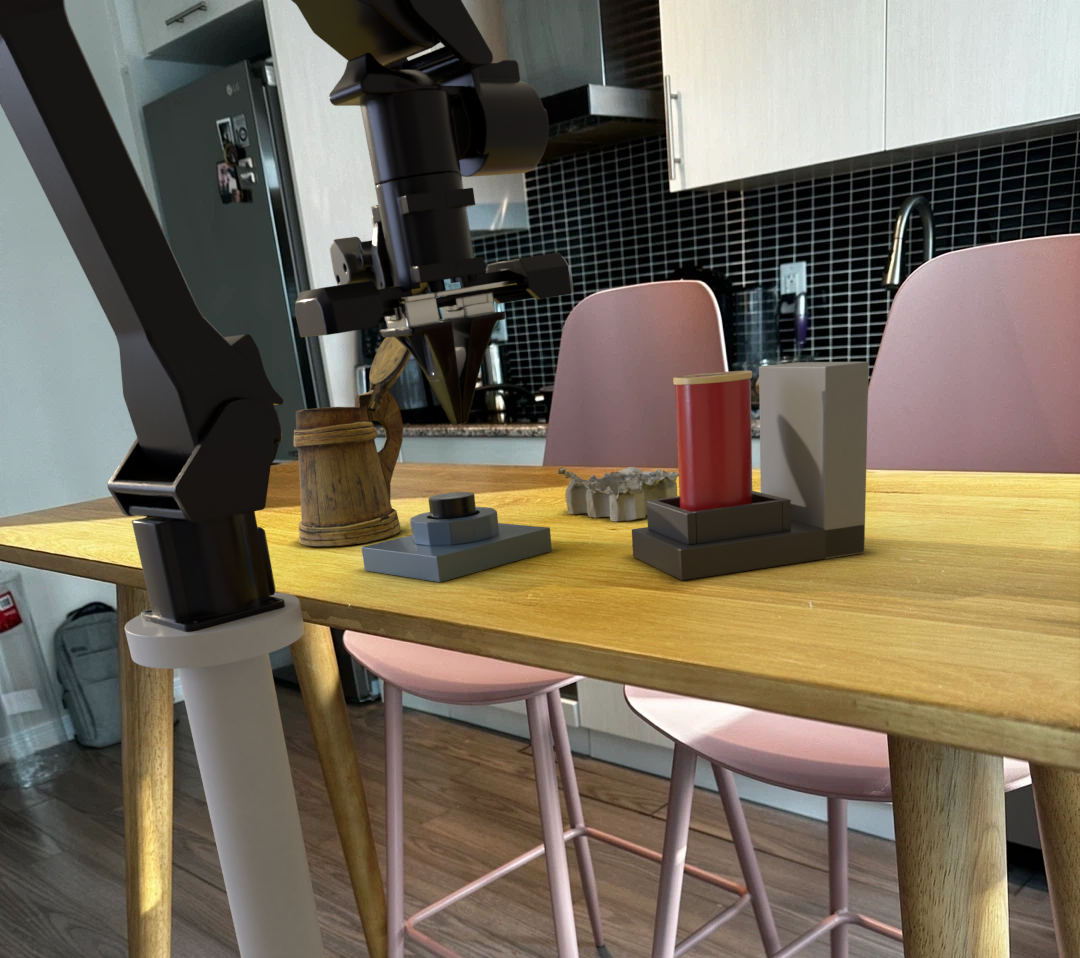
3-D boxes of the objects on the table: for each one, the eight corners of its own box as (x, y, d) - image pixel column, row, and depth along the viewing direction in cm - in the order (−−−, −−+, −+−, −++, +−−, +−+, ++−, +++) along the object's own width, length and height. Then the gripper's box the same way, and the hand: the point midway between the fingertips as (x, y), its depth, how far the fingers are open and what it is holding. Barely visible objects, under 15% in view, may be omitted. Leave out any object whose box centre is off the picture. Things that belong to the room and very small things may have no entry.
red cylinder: (725, 539, 66) (720, 376, 63) (664, 534, 69) (657, 379, 66) (769, 525, 69) (767, 369, 66) (709, 521, 73) (704, 372, 69)
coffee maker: (682, 580, 65) (674, 382, 61) (632, 557, 73) (622, 380, 69) (864, 553, 68) (869, 361, 64) (797, 533, 76) (797, 362, 72)
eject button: (451, 524, 74) (448, 500, 73) (421, 522, 76) (419, 498, 76) (486, 516, 76) (483, 492, 76) (456, 514, 79) (454, 491, 78)
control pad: (440, 582, 71) (433, 532, 70) (364, 570, 77) (357, 524, 76) (552, 551, 78) (548, 504, 77) (474, 542, 84) (469, 499, 83)
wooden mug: (462, 524, 93) (438, 311, 87) (323, 551, 86) (286, 322, 80) (416, 516, 100) (391, 319, 94) (284, 540, 93) (248, 329, 87)
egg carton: (556, 513, 95) (552, 468, 93) (624, 500, 98) (621, 457, 97) (619, 524, 86) (616, 474, 85) (691, 510, 89) (689, 462, 88)
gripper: (484, 185, 78) (515, 397, 84) (245, 211, 70) (299, 444, 76) (562, 160, 69) (590, 400, 75) (298, 187, 61) (354, 453, 67)
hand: (459, 423), depth 73 cm, fingers closed
